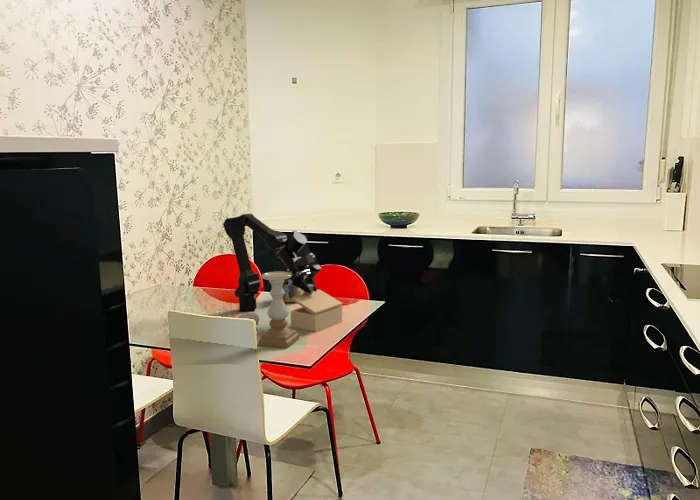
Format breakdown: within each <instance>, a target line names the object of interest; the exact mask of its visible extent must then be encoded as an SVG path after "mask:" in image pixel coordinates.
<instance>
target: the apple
mask: <svg viewBox="0 0 700 500" xmlns="http://www.w3.org/2000/svg"><path fill="white" fill-rule="evenodd" d="M237 318H249V319H254V320H255V321H256V325H257V326H258V325H259V321H260V317H259V315H258V313H256V312H244V313H240V314H239V315H238V317H237Z"/></svg>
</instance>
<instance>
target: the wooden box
mask: <svg viewBox="0 0 700 500" xmlns="http://www.w3.org/2000/svg"><path fill="white" fill-rule="evenodd" d="M342 322H343V305H341V306H339V307H336V308H333V309H330V310H327V311H324V312H321V313H319V314H316V315H314V314H313V313H311V312H310V311H308V310H307V309H305V308H303V307H302V306H300V307H298V308H296V309H293V310H290V327H292V328H297V329H301V330H307V331H311V332H315V333H317V332H319V331H321V330H323V329H326V328H329V327H332V326H334V325H336V324H339V323H342Z"/></svg>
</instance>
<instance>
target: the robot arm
mask: <svg viewBox="0 0 700 500" xmlns="http://www.w3.org/2000/svg"><path fill="white" fill-rule="evenodd" d="M246 227H248V228H249V230H250V229H251V230H252V231H253V232H254V233H256V234H257V235H258V236H259V237H261V239H263V242H264V243H265V245H266V246H267V247H268V248H269V249H270V250H278V249H279V250H278V251H275V256H274V258H275V260H276V259H281V261H282V262H283V264H284V265H285V266H284V269H285V271H286V272H289V273H291V274H292V276H291V277H290V278H288V279H285V281H284V283H283V286H284V285H288V280H290V279H291V280H292V283H291V285H294V286H296V287H298V288H300V289H302V290H303V292H307V293H311V290H310V288H309V287H308V284H313V285H314V289H313V291H315V292H316V291H317V290H318V289H317V285H316V281H315V277H316V276H317V275H318V273H319V272H320V271H321V270H322V267H321V266H320V264H318V263H316V264H315V261H316V260H317V259H316V256H315V254H314V253H312V252H311V253H307V254H306V255H304V256H302V257H301V256H298V255H297V254H298V253H299V252H300V251H301V250H302V249H303V247H304V246H305V245H306V244H307V242H308V239H307V237H306V236H305V235H303V234H302V233H301V232H298V231H297V230H292V231H291V232H290V235H289V236H287V234H285V233H283V232H281V231H279V230H275V229H272V228H270V227H269V226H267V225H266V224H265V223H263V222H262V221H261V220H260V219H258V218H257V217H256V216H255V215H254V214H253V213H243V214H241V215H239V216H236V217H228V218H227V217H226V218H225V219H224V222H223V228H224V231H225V233H226V235H227V236H228V238H229V239H230V240H231V242H232V247H233V251H234V254H235V258H236V261H237V265H238V269H239V276H238V280H237V282H238V286H237V288H235V290H234V296H235V297H236V298H238V303H239V304H238V305H239V306H238V307H239V309H238V312H240V313H241V312H255V311H256V309H257V307H258V305H257V304H258V303H257V297H256V295H258V294H259V290H260V287H261V282H262V281H261V280H260V276H259V273H258V272H256V273H255V272H254V270H253V269H252V265H251V261H250V257H249V254H248V250H247V245H246V241H245V238H244V237H245V233H246ZM287 269H288V270H289V271H287Z"/></svg>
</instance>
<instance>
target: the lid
mask: <svg viewBox="0 0 700 500" xmlns="http://www.w3.org/2000/svg"><path fill="white" fill-rule="evenodd" d="M308 287H309V288H310V290H311V293H307V292H305V291H303V292H304V294H302V295H298V296H295V297H292V299H291V300H293V301H294V302H293V303H295V302H296V303H295V304H297V305H299V306H300V307H303V308H305V309H307V310H308V311H310V312H311V313H313V314H314V315H316V314H319V313H321V312H324V311H327V310H330V309H333V308H336V307H339V306H343V302H341V301H340V300H338V299H337V298H335V297H333V296H331V295H330V294H328V293H326V292H325V291H323V290H321V289H317V291H316V292H315V291H313V289H314V285H313V284H308Z"/></svg>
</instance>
